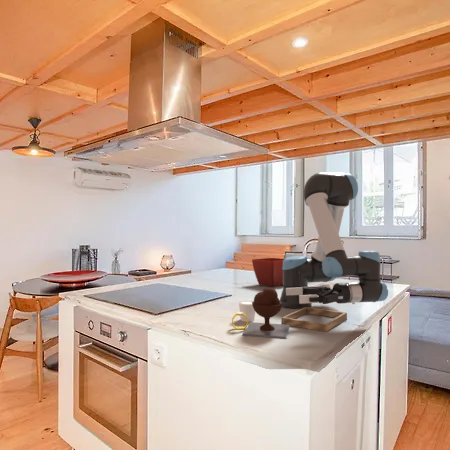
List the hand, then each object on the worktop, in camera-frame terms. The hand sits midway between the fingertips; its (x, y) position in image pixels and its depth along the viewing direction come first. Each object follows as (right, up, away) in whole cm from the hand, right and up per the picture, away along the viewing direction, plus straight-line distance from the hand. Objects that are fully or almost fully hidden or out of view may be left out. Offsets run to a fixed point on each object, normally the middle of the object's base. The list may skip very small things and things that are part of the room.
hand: (292, 295), depth 126 cm
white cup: (-16, -13, +14) cm, 24 cm away
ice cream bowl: (-9, -12, -1) cm, 15 cm away
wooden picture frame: (+11, -12, +10) cm, 20 cm away
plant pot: (+6, -14, +99) cm, 100 cm away
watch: (-19, -13, +1) cm, 23 cm away
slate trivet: (-9, -12, -1) cm, 16 cm away
